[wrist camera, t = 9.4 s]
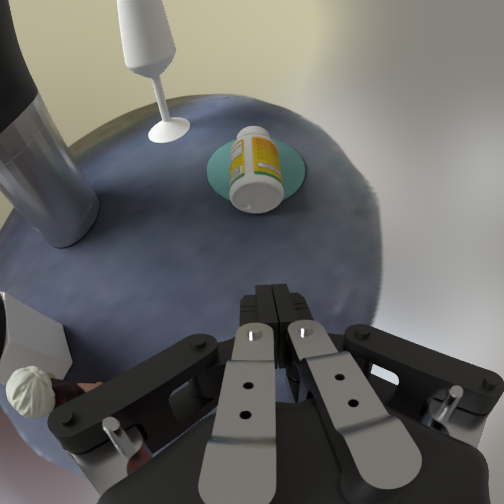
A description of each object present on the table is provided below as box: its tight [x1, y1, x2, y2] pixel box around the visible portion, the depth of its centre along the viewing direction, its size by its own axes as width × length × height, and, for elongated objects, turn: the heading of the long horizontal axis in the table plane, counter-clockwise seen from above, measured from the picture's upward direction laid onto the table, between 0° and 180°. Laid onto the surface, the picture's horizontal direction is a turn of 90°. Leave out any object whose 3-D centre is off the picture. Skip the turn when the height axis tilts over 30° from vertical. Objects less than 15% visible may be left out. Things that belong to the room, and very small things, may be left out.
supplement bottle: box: [229, 126, 284, 213], centre depth 29 cm, size 5×5×10 cm
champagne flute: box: [117, 0, 190, 143], centre depth 27 cm, size 7×7×24 cm
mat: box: [207, 138, 305, 201], centre depth 32 cm, size 12×12×1 cm
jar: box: [0, 292, 73, 385], centre depth 16 cm, size 9×8×12 cm
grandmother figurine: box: [6, 366, 103, 419], centre depth 14 cm, size 8×4×13 cm, turn 90°
